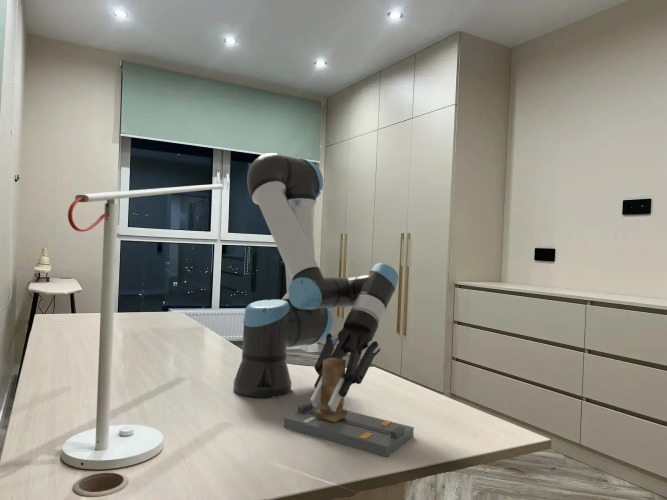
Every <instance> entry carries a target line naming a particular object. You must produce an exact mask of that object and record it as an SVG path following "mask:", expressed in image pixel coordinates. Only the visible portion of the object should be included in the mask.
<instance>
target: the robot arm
mask: <svg viewBox="0 0 667 500" xmlns="http://www.w3.org/2000/svg"><path fill="white" fill-rule="evenodd" d="M246 182H247V183H246V185H247V189H248V193H249V195H250V198H251V199H252V203H254V204H255V205H258V206H259V209H260V212H261V213H262V216H263V218H264V220H265V222H266V225H267V228H268V230H269V231H270V234H271V237H272V239H273V241H274V243H275V245H276V247H277V250H278V252H279V255H280V257H281V259H282V261H283V264H284V266H285V267H284V268H285V280H286V293H285V294H284V296H283V297H282V298H281V299H262V300H257V301H254V302H251V303H249V304H247V305H246V307H245V309H244V317H243V321H242V323H243V333H242V335H243V336H242V352H241V355H242V356H241V362H240V364H239V366H238V369H237V372H236V375H235V377H234V379H233V391H234V392H235V393H236V394H238V395H241V396H244V397H250V398H261V399H262V398H263V399H264V398H265V399H267V398H276V397H283V396H286V395H288V394H289V393H291V391H292V380H291V377H290V372H289V368H288V364H287V351H288V348H292V347H299V346H312V345H314V344H318V343H321V342H323V341H324V340H325V343H324V346H323V348H322V349H321V352H320V354H319V357H318V358H317V360H316V363H315V364H314V370H315V372H316V373H317V374H318V377H317V379H316V381H315V383H314V384H313V385H314V386H313V387H314V391H313V393H312V395H311V397H310V399H309V400H310V403H311V404H313V405H314V406H315V407H318V405H319V403H321V385H322V368H323V360H324V359H328V358H331V357H333V358H338V359H344V357H346V356H347V354H348V353H350V354H349V357H348V361H347V365H346V366H347V367H346V368H345V376H344V374H343V376H344V378H345V379H343V378H340V379H339V381H338V383H337V386H336V388H335V390H334V392H333V394H332V396H331V398H330V400H329V403H328V406H329V407H330V409H331V410H332V411H333V412H335V411H336V409H337V407H338V404H339V402H340V400H341V398H342V397H344V398H345V397H346V396H347V394H348V393H349V390H350V388H351V386H352V385H353V384H357V385H361V384H362V382H363V379H364V378H365V376H366V374H367V372H368V370H369V368H370V366H371V364H372V362H373V360H374V358H375V357H376V355H378V353H380V351H381V348H380V346H379V343H378V341H373V338H375V335H376V333H377V330H378V328H379V325H380V323H381V321H382V319H383V316H384V314H385V312H386V310H387V308H388V306H389V303H390V301H391V299H392V296H393V294H394V292H396V289H397V285H398V282H399V274H398V272H397V270H396V269H395V268H393V267H392V266H391V265H389V264H386V263H381V262H379V263H376V264H374V265H373V266H372V267H371V269H369V271H368V272H369V273H368V274H362V275H357V276H349V277H348V276H347V277H324V275H323V273H322V271H321V269H320V266H319V265H318V262H317V260H316V255H315V244H314V243H315V241H314V228H313V227H314V225H313V214H312V213H313V212H312V209H313V208H314V206H315V205H316V204H317V198H319V196H320V195H321V193H322V192H321V191H322V190H323V187H324V177H323V173H322V171H321V169H320V168H319V167H318V165H316V164H315V163H314V162H312V161H309V160H307V159H304V158H297V157H292V156H288V155H284V154H279V153H275V152H269V153H264V154H262V155H259V156H258V157H257V158H255V159H254V160H253V162H252V163H251V164H250V166H249V169H248V172H247V179H246ZM349 307H351V309H350V311H349V313H348V315H347V317H346V318H345V321H344V323H343V326H342V329H341V330H340V331H339V332H338V333H337V334H333V335H332V334H331V333H330V332H331V330H332V326H333V314H332V311H331V309H330V308H332V309H333V308H338V309H339V308H349ZM337 342H338V343H337ZM364 350H365V352H364V353H363V356H362V352H363V351H364ZM359 360H360V361H359Z"/></svg>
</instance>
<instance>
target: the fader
mask: <svg viewBox="0 0 667 500" xmlns="http://www.w3.org/2000/svg"><path fill="white" fill-rule="evenodd" d="M346 363H347V360H346V359H344V358H342V359H338V358H333V357H331V358H328V359H324V360H323V368H322V385H321V401H320V409H319V410H317V411H315V417H318V418H322V419H325V420H329V421H333V422H336V421H338V420H340V419H342V418H344V417H346V416H347V411H348V410H347V409H344V401H345V399H344V398H345V397H342V398H341V400H340V402H339V404H338V407H337V409H336V411H335V412H333V411H332V410H331V409H330V407H329V406H328V403H329V400H330V398H331V396H332V394H333V392H334V390H335V388H336V386H337V383H338V381H339V379H340V378H343V379H345V378H344V376H345V372H346V366H347V365H346ZM343 374H344V376H343Z"/></svg>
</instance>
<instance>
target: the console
mask: <svg viewBox="0 0 667 500" xmlns="http://www.w3.org/2000/svg"><path fill="white" fill-rule="evenodd" d="M320 403H321V402H320ZM320 403H319V405H318V407H315V406H314V405H313V403H312V402H307V403H304V404H302V405H299V406H297V412H294V413H292V414H290V415H288V416H285V417H284V423H283V426H284V427H283V428H286V429H290V430H294V431H296V432H300V433H303V434H307V435H310V436H312V437H317V438H320V439H323V440H327V441H330V442H333V443H338V444H341V445H345V446H347V447H351V448H354V449H358V450H361V451H365V452H368V453H371V454H373V455H374V454H375V455H378V456H381V457H384V458H388V457H389V456H390V455H391V454H393V453H394V452H395V451H397V450H398V449H399V448H400V447H401V446H403V445H405V444H406V443H407V442H408V441H410V440H411V439H413V438H414V429H415V427H414V426H410V425H406V424H402V423H399V422H394V421H392V420H391V421H390V420H387V419H383V418H378V417H375V416H370V415H366V414H364V413H359V412H355V411H351V410H347V416H346V417H344V418H342V419H340V420H338V421H336V422H333V421H329V420H325V419H322V418H318V417H315V411H317V410H319V409H320Z"/></svg>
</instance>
